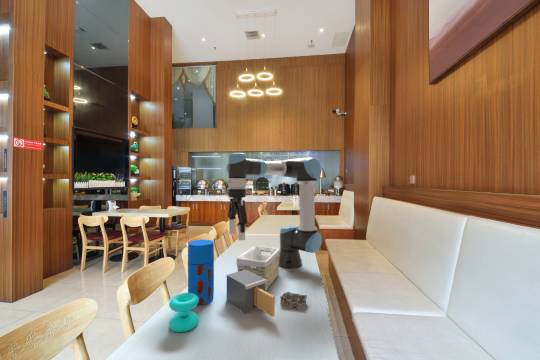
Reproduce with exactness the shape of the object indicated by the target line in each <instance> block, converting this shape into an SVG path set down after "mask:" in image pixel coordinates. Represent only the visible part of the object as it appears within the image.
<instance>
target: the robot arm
mask: <svg viewBox="0 0 540 360" xmlns="http://www.w3.org/2000/svg"><path fill="white" fill-rule="evenodd" d="M226 171H227V173H228V180H227V183H228V198H229V206H228V213H227V218H228V222H229V224H228V225H229V227H228V229H229V230H228V234H229V235H232V234H233V235H235V234H236V219H237V218H238V223H237V225H238V227H237V228H238V230H237V231H238V232H237V233H238V234H237V235H238V241H245V240H246V224H248V216H247V209H246V201H245V200H243V198H245V197H246V196H247V195H246V194H247V193H246V192H247V191H246V189H245V188H246V187H247V179H246V178H247V176H258V177H259V176H278V177H285V178H291V179H296V182H297V184H298V187H299V191H298V192H299V193H298V194H299V195H298V196H299V200H298V201H299V225H289V226H282V227H281V228H280V230H279V249H280V257H279V267H282V268H285V269H286V268H288V269H291V268H292V269H294V268H299V267H302V265H303V264H302V263H303V260H302V257H301V254H300V251H302V252H306V253H310V254H311V253H312V254H313V253H317V252H318V251H319V249H320V248H321V246H322V242H323V235H321V233H320V232H318V231H319V230H318V227H317V226H316V223H315V222H316V221H315V220H316V217H315V216H316V214H315V213H316V212H315V207H316V206H315V203H316V202H315V184H316V183H317V181H318V179H319V177H320V176H321V173H322V167H321V163H320V161H319V160H318V159H316V158H315V157H309V156H308V157H301V158H299V157H298V158H290V159H284V160H283V159H282V160H281V159H280V160H277V161H265V160H264V159H259V158H258V159H257V158H256V159H255V158H247V155H246V153H243V152H232V153H230V154H229V155H228V163H227V165H226ZM236 215H237V217H236Z"/></svg>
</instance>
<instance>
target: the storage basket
mask: <svg viewBox="0 0 540 360" xmlns="http://www.w3.org/2000/svg"><path fill="white" fill-rule="evenodd" d="M262 252H264V253H271V255H264V254H262ZM279 257H280V247H279V248H278V247H272V246H271V247H269V246H260V245H259V246H257V245H254V246H252V247H250V248H249V249H248V250H246V251H245V252H243V253H242V254H240V255H239V256H237V257H236V267H237V268H236V269H237V272H239V271H242V270H248V271H250V272H252V273H254V274H256V275H258V276H260V277H262V278H264V279H266V280H267V283H265V291H266V290H268V288H269V287H270V286H271V284H272V283H273V282H274V281H275V279H277V277H278V275H279V271H280V270H279V268H280V266H279Z"/></svg>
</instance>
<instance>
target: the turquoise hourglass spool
mask: <svg viewBox="0 0 540 360" xmlns="http://www.w3.org/2000/svg"><path fill="white" fill-rule="evenodd" d="M198 302H199V299H198V296H197V295H195V294H193V293H188V292H181V293H179V294H176V295H175V296H173V297H172V298H171V299H170V301H169V308H170V310H172V311H174V312H176V314H174V315H173V316H172V317H171V319H170V320H169V323H168V326H169V328H170V329H171V331H173V332H176V333H184V332H189V331H190V330H192V329H194V328H195V327H196V326H197V325H198V323H199V320H200V319H199V315H198V314H197V313H196V312H195V311H192V310H194V309H195V308H196V307H197V304H198Z"/></svg>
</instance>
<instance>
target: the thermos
mask: <svg viewBox="0 0 540 360" xmlns="http://www.w3.org/2000/svg"><path fill="white" fill-rule="evenodd" d="M214 243H215V242H214V241H213V240H212V239H195V240H191V241H189V242H188V243H187V293H193V294H195V295H197V296H198V299H199V302H198V304H197V306H198V307H200V306H206V305H208V304H210V303H211V302H213V300H214V295H215V294H214V293H215V260H214V259H215V254H214V253H215V252H214V251H215V244H214ZM197 306H196V307H197Z"/></svg>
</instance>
